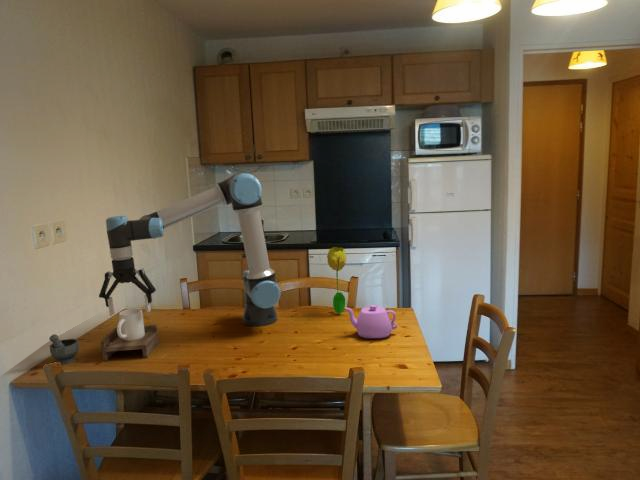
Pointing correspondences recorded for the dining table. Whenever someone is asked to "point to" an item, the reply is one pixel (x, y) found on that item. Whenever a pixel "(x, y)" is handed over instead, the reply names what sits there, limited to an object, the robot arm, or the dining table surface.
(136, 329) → the mug
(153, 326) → the shelf
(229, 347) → the dining table surface
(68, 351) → the mortar and pestle
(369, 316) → the teapot
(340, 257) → the flower
